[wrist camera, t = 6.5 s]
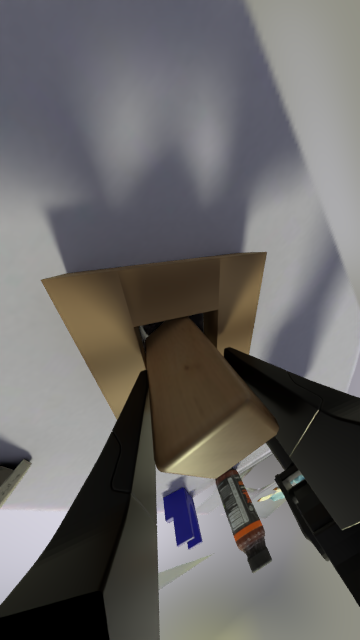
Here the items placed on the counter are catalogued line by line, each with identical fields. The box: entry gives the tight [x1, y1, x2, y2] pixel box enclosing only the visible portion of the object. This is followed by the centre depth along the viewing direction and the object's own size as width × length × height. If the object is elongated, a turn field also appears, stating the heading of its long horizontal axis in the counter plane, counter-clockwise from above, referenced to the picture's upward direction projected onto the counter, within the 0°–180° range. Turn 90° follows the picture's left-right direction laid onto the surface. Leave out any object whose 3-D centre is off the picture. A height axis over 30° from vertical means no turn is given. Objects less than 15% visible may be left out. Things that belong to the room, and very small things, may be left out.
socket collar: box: [41, 252, 267, 419], centre depth 11 cm, size 12×12×2 cm
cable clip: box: [163, 487, 202, 549], centre depth 29 cm, size 12×4×6 cm, turn 13°
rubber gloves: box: [257, 474, 305, 502], centre depth 66 cm, size 27×33×6 cm
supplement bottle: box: [216, 469, 272, 573], centre depth 28 cm, size 6×6×11 cm
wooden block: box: [145, 316, 279, 479], centre depth 8 cm, size 4×4×8 cm
